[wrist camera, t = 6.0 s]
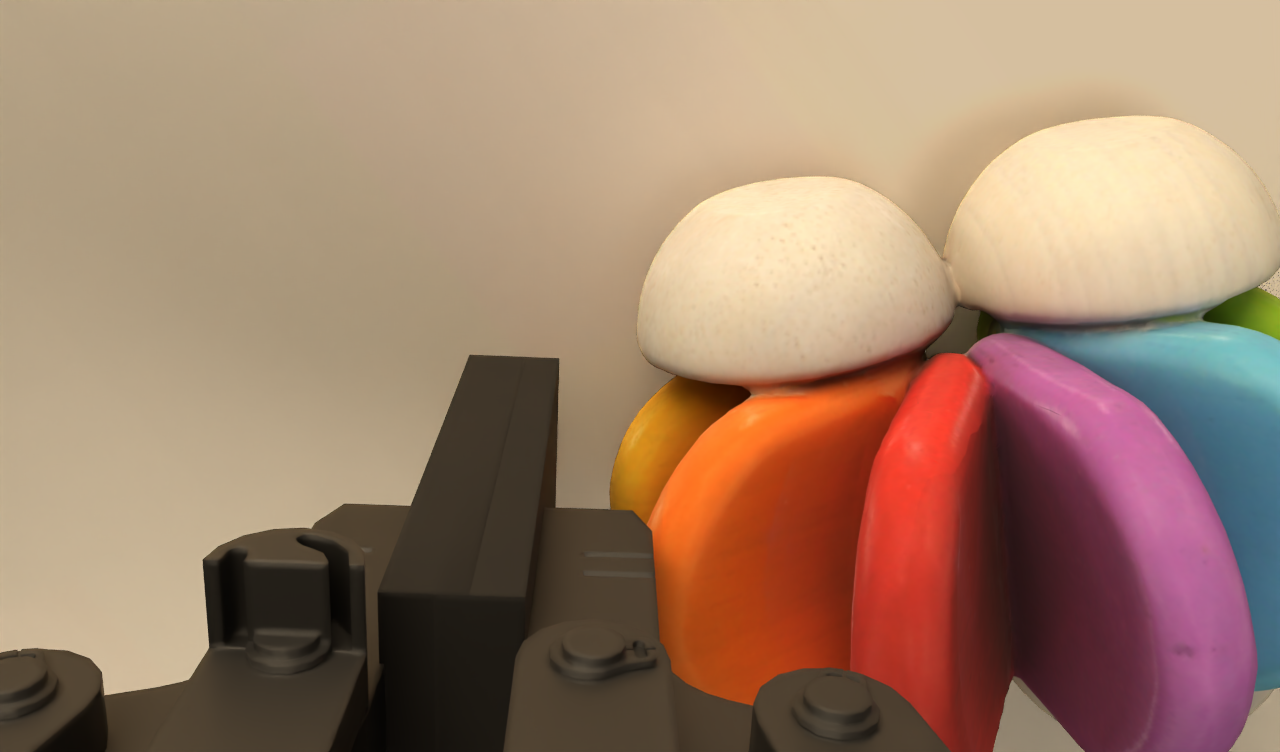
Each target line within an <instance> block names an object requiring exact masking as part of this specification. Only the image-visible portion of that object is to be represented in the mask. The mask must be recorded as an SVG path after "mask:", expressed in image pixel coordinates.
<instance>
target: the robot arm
mask: <svg viewBox="0 0 1280 752" xmlns="http://www.w3.org/2000/svg"><path fill="white" fill-rule="evenodd" d="M558 386H559V358H532V357H510V356H484V355H470V356H469V358H468V361H467V363H466V366H465V368H464V371H463V373H462V376H461V379H460V381H459V384H458V386H457V389H456V391H455V394H454V397H453V399H452V402H451V404H450V407H449V409H448V412H447V415H446V417H445V420H444V422H443V425H442V427H441V430H440V433H439V435H438V438H437V440H436V443H435V445H434V448H433V450H432V453H431V456H430V458H429V461H428V463H427V466H426V468H425V471H424V474H423V476H422V479H421V481H420V484H419V486H418V489H417V492H416V494H415V497H414V499H413V502H412V504H411V506H396V505H367V504H343V505H342V506H340V507H339V508H337V509H336V510H334V511H333V512H331V513H330V514H328V515H327V516H325V517H324V518H322V519H320V520H319V521H317V522H316V523H315V524H314V526H313V528H312V529H309V528H289V529H272V530H268V531H263V532H258V533H253V534H249V535H244V536H242V537H239V538H237V539H234V540H232V541H230V542H227V543H225V544H223V545H220V546H218V547H217V548H216V549H215V550H214V551H212V552H211V553H210V554H209V555H208V556H207V557H205V558H204V559H203V571H204V584H205V597H206V610H207V623H208V636H209V649H208V651H207V652H206V654H205V656H204V657H203V659H202V660H201V662H200V664H199V665H198V667H197V668H196V670H195V672H194V673H193V675H192V676H191V678H190V679H189V680H186V681H183V682H180V683H175V684H170V685H166V686H161V687H157V688H150V689H144V690H137V691H131V692H124V693H118V694H111V695H105V696H104V688H103V679H102V672H101V671H100V669H99V668H98V667H97V666H96V665H95V664H94V663H93V661H92V660H91V659H90V658H87V657H84V656H81V655H78V654H75V653H73V652H70V651H64V650H48V649H38V648H34V649H22V650H21V651H17V650H13V651H7V652H2V653H0V752H951V751H950V750H949V749H948V747H947V746H946V745H945V744H944V743H943V741H942V740H941V739H940V738H939V737H938V735H937V734H936V733H935V732H934V731H933V729H932V728H931V727H930V726H929V725H928V724H927V722H926V721H925V720H924V719H923V718H922V716H921V715H920V714H919V713H918V712H917V710H916V709H915V708H914V707H913V706H912V704H911V703H910V702H908V701H907V700H906V699H905V698H904V697H902V696H901V695H900V694H899V693H898V692H896V691H895V690H894V689H893V688H892V687H890V686H888V685H886V684H884V683H881V682H879V681H877V680H875V679H872V678H870V677H868V676H866V675H863V674H861V673H857V672H853V671H850V670H847V671H844V670H843V669H838V668H830V667H829V668H802V669H798V670H794V671H790V672H786V673H782V674H778V675H777V676H775V677H774V678H772V679H771V680H770V681H768V682H767V683H765V684H764V685H762V686H761V687H760V689H759V691H758V693H757V696H756V698H755V700H754V703H753V705H749V704H744V703H740V702H735V701H731V700H727V699H724V698H721V697H717V696H714V695H711V694H708V693H705V692H703V691H701V690H699V689H697V688H695V687H693V686H691V685H689V684H687V683H686V682H685V681H683V680H682V679H681V678H679V677H678V676H677V675H675V674H674V673H673V672H672V669H671V660H670V658H669V656H668V654H667V651H666V649H665V647H664V645H663V644H662V643H660V635H659V621H658V607H657V593H656V579H655V564H654V550H653V536H652V530H651V529H650V528H649V527H648V526H647V525H646V524H645V523H644V522H643V521H642V520H641V519H640V518H639V517H638V516H637V515H636V514H635V513H634V511H633V510H608V509H577V508H555V501H556V463H557V424H558Z"/></svg>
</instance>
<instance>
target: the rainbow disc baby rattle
mask: <svg viewBox="0 0 1280 752" xmlns="http://www.w3.org/2000/svg"><path fill="white" fill-rule="evenodd" d="M1279 267H1280V218H1279V215H1278V212H1277V209H1276V207H1275V205H1274V203H1273V201H1272V199H1271V197H1270V195H1269V194H1268V192H1267V190H1266V188H1265V186H1264V184H1263V183H1262V182H1261V180H1260V179H1259V177H1258V176H1257V175H1256V173H1255V172H1254V170H1253V169H1252V168H1251V167H1250V166H1249V165H1248V164H1247V163H1246V162H1245V161H1244V160H1243V159H1242V158H1241V157H1240V156H1239V155H1238V154H1237V153H1236V152H1235V151H1234V150H1233V149H1231V148H1230V147H1228V146H1227V145H1226V144H1224V143H1223V142H1221V141H1220V140H1218V139H1217V138H1215V137H1214V136H1213V135H1211V134H1210V133H1208V132H1206V131H1204V130H1202V129H1200V128H1198V127H1196V126H1194V125H1192V124H1189V123H1186V122H1184V121H1181V120H1178V119H1175V118H1168V117H1160V116H1144V115H1136V116H1119V117H1108V118H1099V119H1089V120H1082V121H1077V122H1072V123H1067V124H1062V125H1057V126H1053V127H1050V128H1047V129H1043V130H1040V131H1037V132H1035V133H1033V134H1030V135H1028V136H1026V137H1024V138H1022V139H1021V140H1019V141H1018V142H1016V143H1015V144H1013V145H1012V146H1010V147H1009V148H1007V149H1006V150H1005V151H1004V152H1003V153H1001V154H1000V155H999V156H998V157H997V158H995V159H994V160H993V161H992V162H991V163H990V164H989V165H988V166H987V167H986V168H985V169H984V171H983V172H982V173H981V174H980V176H979V177H978V178H977V179H976V180H975V182H974V183H973V184H972V186H971V187H970V189H969V190H968V192H967V193H966V195H965V197H964V198H963V200H962V202H961V204H960V205H959V207H958V209H957V212H956V214H955V217H954V219H953V222H952V224H951V226H950V229H949V232H948V236H947V239H946V243H945V247H944V252H943V258H942V259H941V257H940V256H939V254H938V253H937V252H936V250H935V249H934V247H933V246H932V244H931V243H930V241H929V240H928V238H927V237H926V235H925V234H924V232H923V231H922V230H921V229H920V228H919V227H918V225H917V224H916V223H915V222H914V221H913V220H912V219H911V218H910V217H909V216H908V215H907V214H906V213H905V212H904V211H902V210H901V209H900V208H899V207H898V206H897V205H895V204H894V203H893V202H892V201H891V200H889V199H888V198H886V197H885V196H883V195H881V194H880V193H878V192H877V191H875V190H873V189H871V188H869V187H867V186H864V185H862V184H860V183H858V182H855V181H851V180H847V179H844V178H838V177H827V176H806V177H793V178H782V179H775V180H768V181H762V182H756V183H752V184H748V185H744V186H740V187H737V188H733V189H730V190H727V191H724V192H721V193H719V194H717V195H715V196H713V197H711V198H709V199H707V200H705V201H703V202H701V203H700V204H699V205H697V206H696V207H695V208H693V209H692V210H691V211H690V212H689V213H688V214H687V215H686V216H685V217H684V218H683V219H682V220H681V221H680V222H679V223H678V224H677V225H676V227H675V228H674V229H673V230H672V232H671V233H670V234H669V236H668V237H667V238H666V239H665V241H664V242H663V244H662V245H661V247H660V249H659V250H658V252H657V254H656V256H655V258H654V260H653V262H652V264H651V266H650V268H649V271H648V273H647V276H646V278H645V282H644V285H643V289H642V293H641V296H640V302H639V308H638V318H637V332H636V335H637V342H638V345H639V347H640V350H641V352H642V354H643V356H644V357H645V358H646V360H647V361H648V362H649V363H651V364H652V365H654V366H655V367H657V368H660V369H662V370H664V371H667V372H669V373H671V374H674V375H676V377H675V378H673V379H672V380H671V381H669V382H668V383H667V384H665V385H664V386H663V387H662V388H661V389H660V390H659V391H658V392H657V393H656V394H655V395H654V396H653V397H652V398H651V399H650V400H649V401H648V402H647V403H646V404H645V406H644V407H643V408H642V409H641V410H640V411H639V413H638V414H637V416H636V417H635V419H634V420H633V422H632V423H631V425H630V427H629V428H628V430H627V432H626V434H625V436H624V438H623V441H622V443H621V445H620V448H619V451H618V454H617V457H616V459H615V463H614V467H613V472H612V477H611V482H610V506H611V510H633V511H634V513H635V514H636V515H637V516H638V517H639V518H640V519H641V520H642V521H643V522H644V523H645V524H646V525H647V526H648V527H649V528H650V529H651V530H652V536H653V550H654V564H655V579H656V593H657V607H658V621H659V635H660V643H662V644H663V645H664V647H665V649H666V651H667V654H668V656H669V658H670V660H671V669H672V672H673V673H674V674H675V675H677V676H678V677H679V678H681V679H682V680H683V681H685V682H686V683H687V684H689V685H691V686H693V687H695V688H697V689H699V690H701V691H703V692H705V693H708V694H711V695H714V696H717V697H721V698H724V699H727V700H731V701H735V702H740V703H744V704H749V705H753V703H754V700H755V698H756V696H757V693H758V691H759V689H760V687H761V686H762V685H764V684H765V683H767V682H768V681H770V680H771V679H772V678H774V677H775V676H777V675H778V674H782V673H786V672H790V671H794V670H798V669H802V668H829V667H830V668H838V669H843V670H844V671H847V670H850V671H853V672H857V673H861V674H863V675H866V676H868V677H870V678H872V679H875V680H877V681H879V682H881V683H884V684H886V685H888V686H890V687H892V688H893V689H894V690H895V691H896V692H898V693H899V694H900V695H901V696H902V697H904V698H905V699H906V700H907V701H908V702H910V703H911V704H912V706H913V707H914V708H915V709H916V710H917V712H918V713H919V714H920V715H921V716H922V718H923V719H924V720H925V721H926V722H927V724H928V725H929V726H930V727H931V728H932V729H933V731H934V732H935V733H936V734H937V735H938V737H939V738H940V739H941V740H942V741H943V743H944V744H945V745H946V746H947V747H948V749H949V750H950V751H951V752H993V748H994V744H995V740H996V735H997V732H998V729H999V723H1000V719H1001V716H1002V713H1003V708H1004V701H1005V697H1006V694H1007V692H1008V689H1009V685H1010V683H1011V681H1012V679H1013V680H1014V682H1015V683H1016V684H1017V685H1018V687H1019V688H1020V689H1021V690H1022V691H1023V693H1024V694H1026V695H1027V696H1028V697H1029V698H1030V699H1031V700H1032V701H1033V702H1034V703H1035V704H1036V705H1037V706H1038V707H1039V708H1040V709H1041V710H1043V711H1044V712H1045V713H1047V714H1048V715H1050V716H1051V717H1052V718H1054V719H1055V720H1056V721H1058V722H1059V723H1060V724H1061V725H1062V727H1063V728H1064V729H1065V730H1066V731H1067V732H1068V733H1069V735H1070V736H1071V737H1072V738H1073V739H1074V740H1075V742H1076V743H1077V744H1078V745H1079V746H1080V747H1081V748H1082V749H1083V750H1084V751H1085V752H1228V751H1229V750H1230V749H1231V747H1232V746H1233V745H1234V743H1235V741H1236V740H1237V738H1238V737H1239V735H1240V734H1241V732H1242V730H1243V728H1244V725H1245V723H1246V720H1247V718H1248V716H1249V715H1250V714H1252V713H1253V712H1254V711H1255V710H1256V709H1257V708H1258V707H1259V706H1260V705H1261V704H1262V703H1263V702H1264V701H1265V700H1266V699H1267V698H1268V697H1269V695H1270V694H1271V693H1272V691H1273V690H1274V689H1276V688H1280V299H1278V298H1277V297H1275V296H1273V295H1272V294H1270V293H1268V292H1266V291H1264V290H1262V289H1260V288H1258V287H1257V286H1259V285H1261V284H1262V283H1264V282H1265V281H1267V280H1269V279H1270V278H1271V277H1272V276H1273V275H1274V274H1275V272H1276V271H1277V270H1278V269H1279ZM958 306H960V307H963V308H967V309H970V310H980V311H981V313H980V316H979V320H978V326H977V339H978V342H976V343H975V344H974V345H973V346H972V347H971V348H970V349H969V350H968V352H967V353H965V354H956V353H938V354H936V355H935V356H933V357H932V358H930V359H929V360H926V353H925V350H926V349H927V348H928V347H929V346H930V345H931V344H932V343H933V342H935V341H936V340H937V339H938V338H939V337H940V336H941V335H942V334H943V332H944V331H945V330H946V329H947V328H948V327H949V325H950V324H951V322H952V320H953V317H954V310H955V308H956V307H958Z"/></svg>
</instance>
